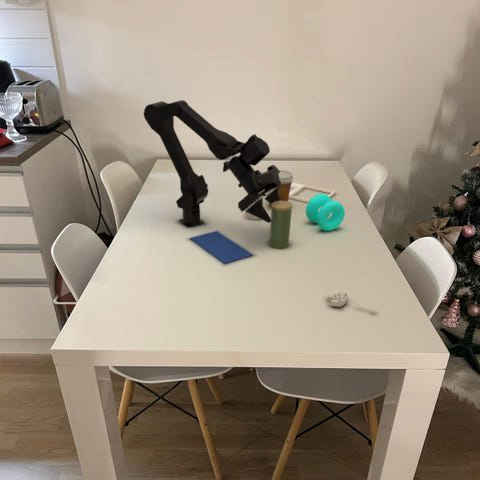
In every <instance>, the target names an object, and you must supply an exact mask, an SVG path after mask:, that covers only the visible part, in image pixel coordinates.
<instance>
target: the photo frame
mask: <svg viewBox="0 0 480 480" xmlns="http://www.w3.org/2000/svg"><path fill="white" fill-rule="evenodd" d="M303 189H307V190H312V191H318V192H323V193H327V195H328V196H329V197H330V198H331V197H332V196H334V195H335V194H336V191H335V190H330V189H327V188H322V187H321V188H320V187H316V186H312V185H307V184H302V183H297V182H292V183H291V188H290V193H289V198H288V199H290V200H294V201H300V202H304V203H308V202H309V201H310V199H308V198H303V197H300V196H295V195H296V194H298V193H299V192H300V191H302V190H303Z"/></svg>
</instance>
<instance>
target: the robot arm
mask: <svg viewBox="0 0 480 480" xmlns="http://www.w3.org/2000/svg"><path fill="white" fill-rule="evenodd" d="M143 117H144V120H145V121H146V123H147V125H148V126H149V127H150V129H151V130H152V131H154V132H155V133H156V134H157V135H158V136H159V137H160V140H161V142H162V144H163V146H164V149H165V150H166V152H167V154H168V156H169V159H170V160H171V163H172V165H173V167H174V169H175V171H176V173H177V175H178V177H179V180H180V181H179V183H180V184H179V186H180V187H179V188H180V192H181V196H180V197H179V198H178V199H177V200H176V201H175V203H176V205H177V208H178V209H181V211H182V212H181V213H182V218H180V219H178V222H179V223H181V225H183V226H185V227H186V228H191V227H196V226H201V225H204V224H205V221H204V220H202V219H201V204H203V203H204V202H205V199H207V197H208V194H209V189H208V187H209V184H207V182H206V180H205V176H204V175H203V174H200V175H198V174H197V173H196V172H195V171H194V168H193V167H192V164H191V162H190V161H189V159H188V156H187V153H186V152H185V150H184V148H183V145H182V142H181V141H180V139H179V137H178V135H177V133H176V131H175V125H174V122H175V119H174V117H176V118H177V119H179V120H180V121H181V122H182V123H183V124H184V125H186V126H187V127H188V128H189V129H190V130H192V132H193V133H195V134H196V135H197V136H198V137H200V139H202V140H203V141H204V143H206V146H207V147H208V150H209V151H210V152H211V153H212V155H214V157H215V158H216V159H218V160H219V161H223V160H224V162H223V166H222V172H223V173H226V172H227V171H230V172H231V173H232V175H233V176H234V177H235V179H236V180H237V181H238V184H237V186H238V187H239V188H243V190H245V192H246V193H247V194H246V196H245V195H244V197H243V198H242V199H240V201H238V203H237V208H238V209H239V210H240V212H241V213H243V212H244V213H245V214H247V213H250V214H252V215H254V216H256V217H258V218H259V220H262V221H264V222H265V223H267V224H271V216H270V215H269V213H268V212H267V210H266V209H265V206H264V204H263V205H262V198H261V199H260V200H259V198H260V197H261V196H263V200H265V201H266V202H267V203H268V204H269V203H270V204H271V205H272V203H273V202H275V201H281V199H280V196H279V190H280V188H281V186H279V185H280V184H281V182H280V180H279V179H280V178H279V175H278V174H279V173H280V170H281V169H278V167H277V166H276V165H275V164H271V165H270V166H267V169H266V171H264V172H261V171H260V170H259V169H256V170H255V169H254V168H253V166H258V164H259V163H260V162H261V161H262V160H264V158H265V157H266V156H268V155H269V154H270V151H271V149H270V146H269V144H268V143H267V142H266V141H265V140H264V139H262V138H261V137H259V136H258V135H257V134H255V133H254V134H251V135H250V137H248V139H247V141H245V142H243V141H240V140H237V138H236V137H234V136H233V135H231V134H230V133H228V132H226V131H223V130H220V129H218V128H216V127H215V126H214V125H212V124H211V123H210V122H209V121H208V120H206V119H205V118H204V117H203V116H202V115H201V114H199V113H198V112H197V111H196V110H195V109H194V108H192V107H191V106H190V105H189V103H188V102H187V101H186V100H183V99H180V100H177V101H173V102H170V103H168V102H165V101H161V100H160V101H157V102H154V103H149V104H147V105H146V106H145V107H144V111H143ZM238 154H239V155H238ZM237 155H238V156H237ZM231 157H232V158H231ZM229 158H230V160H227V159H229ZM225 160H226V161H225ZM278 186H279V187H278Z"/></svg>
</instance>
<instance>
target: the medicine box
mask: <svg viewBox="0 0 480 480" xmlns="http://www.w3.org/2000/svg"><path fill="white" fill-rule="evenodd" d="M261 198H262V205H263V206H264V196H261V197H260V198H259V200H260V199H261ZM246 219H248V220H257V221H258V220H260V218H258V217H256V216H254V215H252V214H250V213H246Z"/></svg>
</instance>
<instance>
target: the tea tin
mask: <svg viewBox="0 0 480 480" xmlns="http://www.w3.org/2000/svg"><path fill="white" fill-rule="evenodd" d="M271 206H272V208H270V209H271V210H270V219H271V222H270V223H269V224H270V227H269V242H268V244H269V246H270V247H271V248H274V249H278V250H281V249H286V248H288V247H289V245H290V232H291V222H292V221H291V220H292V210H293V209H292V208H293V204H292V203H291V202H290V201H288V202H287V201H275V202H273V203H272V205H271Z"/></svg>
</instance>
